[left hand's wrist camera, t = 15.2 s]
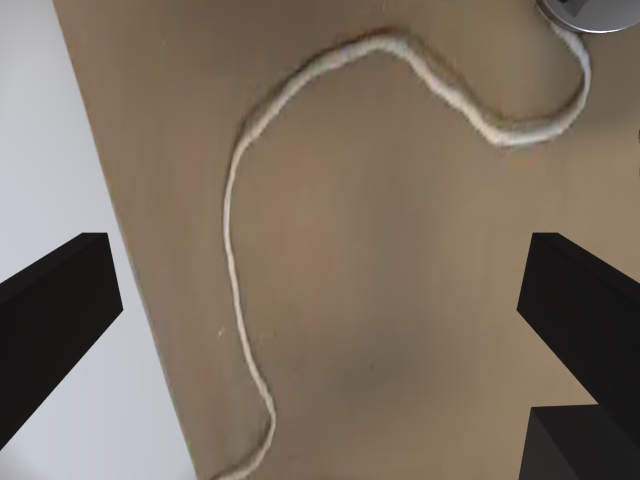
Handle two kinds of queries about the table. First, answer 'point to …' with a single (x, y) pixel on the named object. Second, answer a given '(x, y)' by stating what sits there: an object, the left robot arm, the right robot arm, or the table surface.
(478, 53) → the table surface
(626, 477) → the bar
